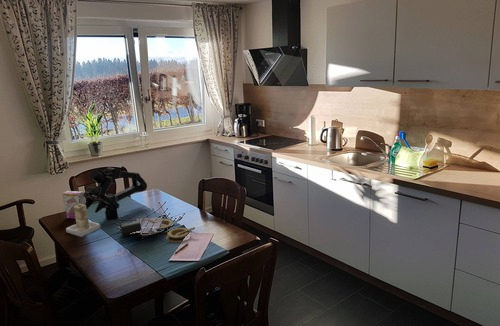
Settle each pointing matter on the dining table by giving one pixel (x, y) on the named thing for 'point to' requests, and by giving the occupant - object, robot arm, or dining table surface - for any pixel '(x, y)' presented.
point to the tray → (92, 227)
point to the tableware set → (173, 231)
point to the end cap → (129, 228)
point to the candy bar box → (72, 202)
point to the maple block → (81, 217)
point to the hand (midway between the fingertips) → (90, 211)
